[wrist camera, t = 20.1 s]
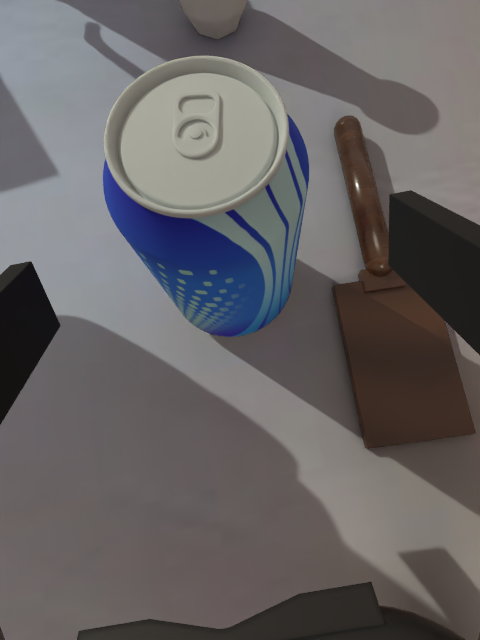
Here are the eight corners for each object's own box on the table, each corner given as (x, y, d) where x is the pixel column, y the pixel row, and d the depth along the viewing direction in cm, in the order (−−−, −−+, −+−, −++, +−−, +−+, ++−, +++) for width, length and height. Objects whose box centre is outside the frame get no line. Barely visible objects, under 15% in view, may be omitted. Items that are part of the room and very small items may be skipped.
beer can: (314, 275, 30) (365, 108, 14) (240, 365, 28) (207, 290, 13) (225, 211, 31) (184, 1, 16) (152, 293, 30) (29, 151, 15)
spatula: (299, 135, 33) (301, 117, 31) (385, 121, 32) (392, 102, 30) (364, 448, 26) (372, 450, 24) (471, 433, 26) (487, 434, 24)
